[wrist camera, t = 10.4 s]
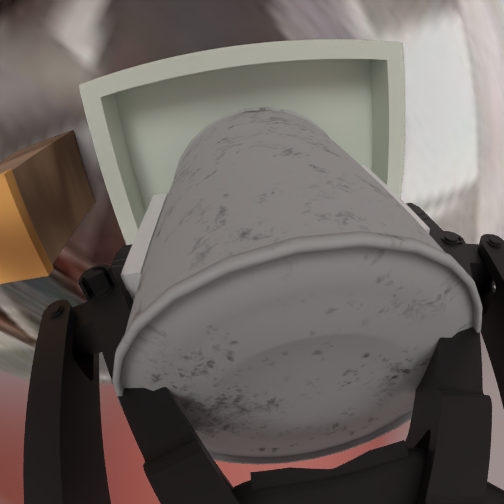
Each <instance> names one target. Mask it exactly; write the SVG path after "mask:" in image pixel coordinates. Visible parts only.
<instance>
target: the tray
mask: <svg viewBox="0 0 504 504" xmlns="http://www.w3.org/2000/svg"><path fill="white" fill-rule="evenodd" d="M79 89H80V93H81V98H82V102H83V106H84V110H85V114H86V118H87V122H88V126H89V130H90V134H91V137H92V141H93V145H94V148H95V152H96V155H97V159H98V162H99V165H100V169H101V172H102V175H103V178H104V182H105V185H106V188H107V191H108V194H109V197H110V200H111V203H112V206H113V209H114V212H115V215H116V218H117V221H118V223H119V226H120V229H121V232H122V234H123V237H124V240H125V243H126V245H130V244H133V242H134V239H135V237H136V235H137V232H138V230H139V227H140V225H141V223H142V220H143V218H144V216H145V213H146V211H147V209H148V206H149V204H150V202H151V200H152V198H153V195H158V194H164V193H169V191H170V188H171V185H172V183H173V180H174V175H175V172H176V169H177V166H178V162H179V159H180V157H181V156H182V154H183V152H184V151H185V149H186V148H187V146H188V144H189V143H190V141H191V140H192V139H193V138H194V137H195V136H196V135H197V134H198V133H199V132H200V131H201V130H202V129H203V128H204V127H205V126H207V125H208V124H210V123H212V122H213V121H215V120H217V119H219V118H220V117H222V116H224V115H226V114H229V113H232V112H236V111H239V110H242V109H245V108H259V107H271V108H277V109H283V110H289V111H291V112H294V113H296V114H298V115H301V116H303V117H305V118H308V119H309V120H310V121H312V122H313V123H314V124H316V125H317V126H318V127H320V128H321V129H322V130H324V131H325V132H326V134H327V135H328V136H329V137H330V139H331V140H333V141H334V142H335V143H336V144H337V145H338V146H340V147H341V148H342V149H343V150H344V151H345V152H346V153H348V154H349V155H350V156H351V157H352V158H353V159H354V160H355V161H356V162H358V163H359V164H360V165H361V166H366V167H368V168H369V169H370V170H371V171H372V172H373V173H374V174H375V175H376V176H377V177H379V178H380V179H381V180H382V181H383V182H384V183H385V184H386V185H387V186H388V187H389V188H390V189H391V190H392V191H393V192H394V193H395V194H396V195H397V196H398V197H399V198H400V199H401V193H402V180H403V165H404V145H405V72H404V53H403V43H399V42H388V41H373V40H348V39H317V40H292V41H277V42H265V43H255V44H246V45H238V46H231V47H224V48H218V49H211V50H206V51H200V52H195V53H190V54H185V55H180V56H175V57H171V58H166V59H162V60H158V61H154V62H150V63H146V64H142V65H139V66H135V67H131V68H128V69H125V70H121V71H118V72H115V73H111V74H108V75H105V76H102V77H99V78H96V79H93V80H90V81H88V82H85V83H82V84H79Z"/></svg>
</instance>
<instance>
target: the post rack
mask: <svg viewBox="0 0 504 504" xmlns="http://www.w3.org/2000/svg"><path fill="white" fill-rule="evenodd" d="M94 203H95V200H94V197H93V194H92V191H91V188H90V185H89V182H88V179H87V176H86V173H85V169H84V166H83V163H82V160H81V156H80V153H79V150H78V146H77V143H76V139H75V136H74V132H73V130H72V131H69V132H66V133H64V134H61V135H58V136H55V137H53V138H50V139H47V140H45V141H42V142H40V143H37V144H34V145H32V146H30V147H27V148H25V149H22V150H20V151H18V152H15V153H14V154H12V155H10V156H9V157H7V158H6V159H4V160H3V161H1V162H0V284H2V283H8V282H14V281H20V280H26V279H32V278H38V277H44V276H49V275H50V273H51V272H52V270H53V266H52V265H53V263H54V262H55V260H56V258H57V257H58V255H59V254H60V252H61V251H62V249H63V248H64V246H65V245H66V243H67V242H68V240H69V239H70V237H71V236H72V234H73V233H74V231H75V230H76V228H77V227H78V226H79V224H80V223H81V221H82V220H83V218H84V217H85V216H86V214H87V213H88V212H89V210H90V209H91V207H92V206H93V205H94Z"/></svg>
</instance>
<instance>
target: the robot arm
mask: <svg viewBox="0 0 504 504" xmlns="http://www.w3.org/2000/svg"><path fill="white" fill-rule="evenodd" d="M362 167H363V168H364V169H365V170H366V171H367V172H368V173H369V174H370V175H372V176H373V177H374V178H375V179H376V180H377V181H378V182H379V183H380V184H381V185H382V186H383V187H384V188H385V189H386V190H387V191H388V192H389V193H390V194H391V195H392V196H393V197H394V198H395V199H396V200H397V201H398V202H399V203H400V204H401V205H402V206H403V207H404V208H405V209H406V210H407V211H408V212H409V213H410V214H411V215H412V216H413V217H414V219H415V220H416V221H417V222H418V223H419V224H420V225H421V226H422V227H423V228H424V229H425V230H426V231H427V233H428V234H429V235H430V236H431V237H432V238H433V239H434V240H435V242H436V243H437V244H438V245H439V246H440V247H441V248H442V249H443V251H444V252H445V253H447V254H450V255H451V256H452V257H453V258H454V259H455V260H456V261H457V262H458V263H459V265H460V266H461V267H462V268H463V269H464V270H465V271H466V272H467V273H468V274H469V275H470V277H471V278H472V279H473V280H474V282H475V285H476V288H477V291H478V294H479V297H480V300H481V303H482V324H481V334H482V336H483V339H484V342H485V345H486V348H487V351H488V354H489V357H490V360H491V364H492V367H493V370H494V374H495V377H496V381H497V384H498V388H499V392H500V396H501V399H502V404H503V408H504V240H503V239H501V238H500V237H498V236H495V235H493V234H492V235H491V234H485V235H483V236H481V239H480V243H479V245H478V244H465V241H464V239H463V238H462V237H461V236H459V235H458V234H456V233H453V232H449V231H443V230H442V229H441V228H440V227H439V226H438V225H437V224H436V223H435V222H434V221H433V220H432V219H430V217H429V216H428V215H427V214H426V213H425V212H424V211H423V210H422V209H421V208H420V207H418V206H416V205H414V204H412V203H405V202H404V201H403V200H401V199H400V198H399V197H398V196H397V195H396V194H395V193H394V192H393V191H392V190H391V189H390V188H389V187H388V186H387V185H386V184H385V183H384V182H383V181H382V180H381V179H380V178H379V177H377V176H376V175H375V174H374V173H373V172H372V171H371V170H370V169H369V168H368V167H366V166H362ZM167 196H168V193H164V194H158V195H153V198H152V200H151V202H150V204H149V206H148V209H147V211H146V213H145V216H144V218H143V220H142V223H141V225H140V227H139V230H138V232H137V235H136V237H135V239H134V242H133V244H130V245H125V246H123V247H122V248H121V249H120V250H119V251H118V252H117V253H116V255H115V258H114V261H113V262H112V265H111V267H109V266H108V265H97V266H94V267H92V268H90V269H88V270H86V271H85V272H84V273H83V274H82V275H81V277H80V279H79V285H80V287H81V289H82V291H83V293H84V295H85V296H86V298H87V300H88V302H86V303H83V304H81V305H78V306H75V307H73V308H72V306H71V304H70V303H69V302H68V301H67V300H58V301H56V302H53V303H52V304H50V305H49V306H48V307H47V308H46V310H45V311H44V313H43V315H42V320H41V324H40V328H39V333H38V338H37V343H36V348H35V354H34V359H33V365H32V371H31V378H30V385H29V393H28V402H27V411H26V422H25V437H24V473H23V474H24V475H23V476H24V504H111V501H110V495H109V489H108V483H107V475H106V467H105V460H104V450H103V440H102V428H101V415H100V414H101V413H100V395H99V394H100V392H99V353H100V352H103V356H104V359H105V362H106V365H107V368H108V371H109V374H110V376H111V379H112V380H113V370H114V360H115V353H116V349H117V347H118V345H119V343H120V342H121V340H122V338H123V336H124V335H125V332H126V328H127V324H128V320H129V317H130V313H131V309H132V306H133V302H134V299H135V295H136V292H137V288H138V285H139V281H140V278H141V275H142V271H143V268H144V265H145V261H146V258H147V255H148V252H149V249H150V246H151V243H152V240H153V237H154V234H155V231H156V228H157V225H158V222H159V219H160V216H161V213H162V210H163V207H164V205H165V202H166V199H167ZM494 285H495V287H496V289H495V288H494ZM480 344H481V343H480V332H479V333H476V331H475V330H474V328H473V327H471V328H468V329H465V330H462V331H459V332H457V333H456V334H455V335H454V336H453V337H452V338H446V337H441V338H439V340H438V343H437V346H436V349H435V351H434V354H433V356H432V358H431V361H430V363H429V365H428V367H427V369H426V371H425V374H424V376H423V378H422V380H421V382H420V383H419V385H418V387H417V388H416V392H415V399H414V405H413V412H412V418H411V423H410V429H409V433H408V436H407V439H406V441H404V440H403V441H400V442H397V443H393V444H390V445H387V446H384V447H380V448H377V449H373V450H370V451H368V452H366V453H364V454H363V455H360V456H359V457H357V458H355V459H353V460H351V461H349V462H347V463H345V464H343V465H341V466H339V467H337V468H334V469H305V468H283V469H276V470H269V471H260V472H251V480H250V481H247V482H244V483H242V484H239V485H237V486H235V487H234V488H233V486H232V485H231V483H230V482H229V481H228V479H227V478H226V477H225V475H224V474H223V473H222V471H221V470H220V468H219V467H218V466H217V464H216V463H215V461H214V460H213V458H212V457H211V455H210V453H209V452H208V450H207V449H206V447H205V446H204V444H203V443H202V441H201V439H200V438H199V436H198V435H197V433H196V431H195V430H194V428H193V427H192V426H191V424H190V423H189V421H188V420H187V418H186V417H185V415H184V414H183V412H182V411H181V409H180V408H179V406H178V405H177V403H176V401H175V400H174V398H173V397H172V395H171V393H170V392H169V390H168V389H167V387H162V388H160V389H157V390H155V391H152V390H149V389H146V388H124V390H123V396H118V398H119V401H120V404H121V406H122V408H123V411H124V414H125V416H126V418H127V421H128V423H129V426H130V428H131V430H132V433H133V435H134V437H135V440H136V442H137V444H138V446H139V448H140V450H141V453H142V455H143V457H144V459H145V463H144V465H143V466H144V471H145V473H146V476H147V478H148V480H149V482H150V484H151V486H152V488H153V490H154V492H155V494H156V496H157V497H158V499H159V501H160V503H161V504H504V491H503V490H502V489H500V488H498V487H496V486H495V485H493V484H491V483H489V482H487V478H488V469H489V459H490V447H491V428H492V402H491V398H490V396H488V395H484V394H483V390H482V361H481V345H480ZM112 382H113V381H112Z"/></svg>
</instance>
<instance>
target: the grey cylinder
mask: <svg viewBox="0 0 504 504" xmlns="http://www.w3.org/2000/svg"><path fill="white" fill-rule="evenodd" d="M481 324H482V303H481V300H480V297H479V294H478V291H477V288H476V285H475V282H474V280H473V279H472V278H471V277H470V275H469V274H468V273H467V272H466V271H465V270H464V269H463V268H462V267H461V266H460V265H459V263H458V262H457V261H456V260H455V259H454V258H453V257H452V256H451V255H450V254H447V253H445V252H444V251H443V249H442V248H441V247H440V246H439V245H438V244H437V243H436V242H435V240H434V239H433V238H432V237H431V236H430V235H429V234H428V233H427V231H426V230H425V229H424V228H423V227H422V226H421V225H420V224H419V223H418V222H417V221H416V220H415V219H414V217H413V216H412V215H411V214H410V213H409V212H408V211H407V210H406V209H405V208H404V207H403V206H402V205H401V204H400V203H399V202H398V201H397V200H396V199H395V198H394V197H393V196H392V195H391V194H390V193H389V192H388V191H387V190H386V189H385V188H384V187H383V186H382V185H381V184H380V183H379V182H378V181H377V180H376V179H375V178H374V177H373V176H372V175H370V174H369V173H368V172H367V171H366V170H365V169H364V168H363V167H362V166H361V165H360V164H359V163H358V162H356V161H355V160H354V159H353V158H352V157H351V156H350V155H349V154H348V153H346V152H345V151H344V150H343V149H342V148H341V147H340V146H338V145H337V144H336V143H335V142H334V141H333V140H331V139H330V137H329V136H328V135H327V134H326V132H325V131H324V130H322V129H321V128H320V127H318V126H317V125H316V124H314V123H313V122H312V121H310V120H309V119H308V118H305V117H303V116H301V115H298V114H296V113H294V112H291V111H289V110H283V109H277V108H271V107H259V108H245V109H242V110H239V111H236V112H232V113H229V114H226V115H224V116H222V117H220V118H219V119H217V120H215V121H213V122H212V123H210V124H208V125H207V126H205V127H204V128H203V129H202V130H201V131H200V132H199V133H198V134H197V135H196V136H195V137H194V138H193V139H192V140H191V141H190V143H189V144H188V146H187V148H186V149H185V151H184V152H183V154H182V156H181V157H180V159H179V162H178V166H177V169H176V172H175V175H174V180H173V183H172V185H171V188H170V191H169V193H168V196H167V199H166V202H165V205H164V207H163V210H162V213H161V216H160V219H159V222H158V225H157V228H156V231H155V234H154V237H153V240H152V243H151V246H150V249H149V252H148V255H147V258H146V261H145V265H144V268H143V271H142V275H141V278H140V281H139V285H138V288H137V292H136V295H135V299H134V302H133V306H132V309H131V313H130V317H129V320H128V324H127V328H126V332H125V335H124V336H123V338H122V340H121V342H120V343H119V345H118V347H117V349H116V353H115V360H114V370H113V380H112V381H113V385H114V388H115V391H116V394H117V397H118V396H123V390H124V388H146V389H149V390H152V391H155V390H157V389H160V388H162V387H167V389H168V390H169V392H170V393H171V395H172V397H173V398H174V400H175V401H176V403H177V405H178V406H179V408H180V409H181V411H182V412H183V414H184V415H185V417H186V418H187V420H188V421H189V423H190V424H191V426H192V427H193V428H194V430H195V431H196V433H197V435H198V436H199V438H200V439H201V441H202V443H203V444H204V446H205V447H206V449H207V450H208V452H209V453H210V455H211V457H212V458H213V460H217V461H223V462H229V463H241V464H274V463H275V464H277V463H290V462H297V461H303V460H309V459H315V458H319V457H323V456H327V455H331V454H335V453H339V452H342V451H345V450H348V449H351V448H353V447H356V446H359V445H362V444H364V443H367V442H370V441H372V440H374V439H376V438H378V437H380V436H382V435H384V434H386V433H388V432H390V431H392V430H394V429H396V428H398V427H399V426H401V425H402V424H404V423H405V422H407V421H409V420H410V419H411V418H412V412H413V405H414V399H415V392H416V388H417V387H418V385H419V383H420V382H421V380H422V378H423V376H424V374H425V371H426V369H427V367H428V365H429V363H430V361H431V358H432V356H433V354H434V351H435V349H436V346H437V343H438V340H439V338H441V337H446V338H452V337H453V336H454V335H455V334H456V333H457V332H459V331H462V330H465V329H468V328H471V327H473V328H474V330H475V331H476V333H479V332H481ZM118 400H119V398H118ZM119 403H120V401H119ZM120 405H121V404H120ZM121 407H122V406H121Z"/></svg>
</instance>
